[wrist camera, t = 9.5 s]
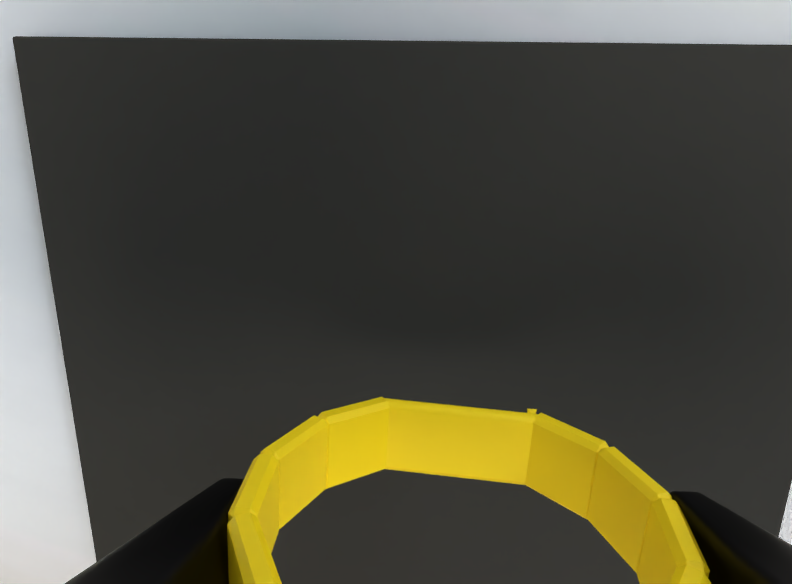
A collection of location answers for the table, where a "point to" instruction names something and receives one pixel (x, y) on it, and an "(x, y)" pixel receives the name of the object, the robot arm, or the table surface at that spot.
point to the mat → (418, 276)
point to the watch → (465, 458)
